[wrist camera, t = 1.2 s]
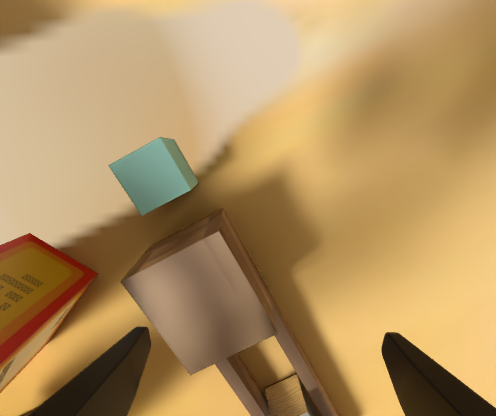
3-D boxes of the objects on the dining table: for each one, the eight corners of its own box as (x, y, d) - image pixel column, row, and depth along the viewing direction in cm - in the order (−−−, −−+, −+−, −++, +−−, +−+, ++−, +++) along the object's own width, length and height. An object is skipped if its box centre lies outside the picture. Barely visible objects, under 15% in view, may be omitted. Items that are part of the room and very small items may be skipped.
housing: (288, 450, 29) (302, 525, 23) (150, 246, 22) (120, 281, 16) (344, 425, 29) (373, 495, 23) (222, 208, 21) (218, 231, 16)
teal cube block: (158, 203, 21) (141, 215, 17) (132, 162, 20) (108, 165, 16) (198, 182, 21) (191, 190, 17) (174, 139, 20) (160, 137, 16)
